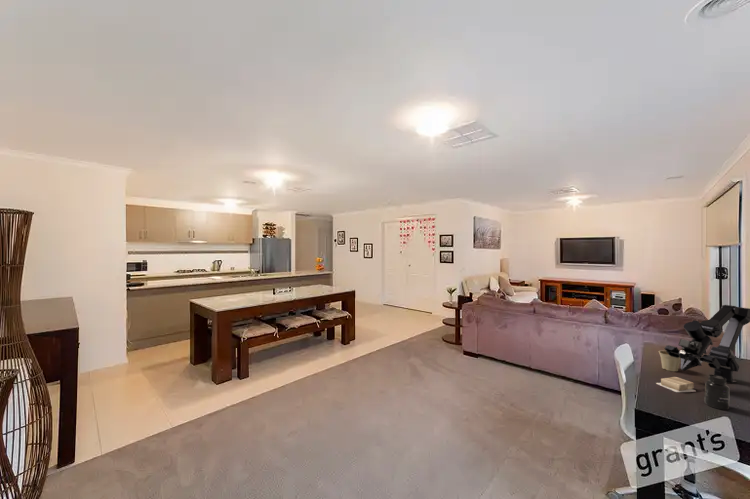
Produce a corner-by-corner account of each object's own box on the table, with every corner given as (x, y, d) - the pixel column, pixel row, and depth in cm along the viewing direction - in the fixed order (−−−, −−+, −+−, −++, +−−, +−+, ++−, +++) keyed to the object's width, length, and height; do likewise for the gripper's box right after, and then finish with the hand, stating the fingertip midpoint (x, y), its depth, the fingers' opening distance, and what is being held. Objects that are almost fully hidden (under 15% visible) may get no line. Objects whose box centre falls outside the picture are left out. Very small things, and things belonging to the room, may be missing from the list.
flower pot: (687, 373, 162) (687, 357, 162) (666, 372, 164) (666, 355, 164) (673, 367, 171) (674, 351, 171) (653, 365, 173) (654, 350, 173)
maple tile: (675, 376, 150) (660, 378, 147) (693, 382, 143) (679, 385, 140) (675, 382, 150) (660, 384, 147) (693, 388, 143) (679, 391, 140)
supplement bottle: (725, 411, 123) (726, 381, 123) (701, 404, 129) (702, 375, 129) (731, 408, 126) (732, 378, 126) (708, 400, 132) (708, 372, 132)
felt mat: (674, 383, 150) (674, 382, 150) (695, 391, 141) (695, 390, 141) (656, 383, 149) (656, 382, 149) (676, 392, 140) (676, 391, 140)
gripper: (667, 328, 156) (651, 352, 153) (717, 339, 139) (699, 366, 135) (677, 343, 159) (662, 367, 156) (727, 355, 141) (711, 382, 138)
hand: (682, 370), depth 146 cm, fingers closed
